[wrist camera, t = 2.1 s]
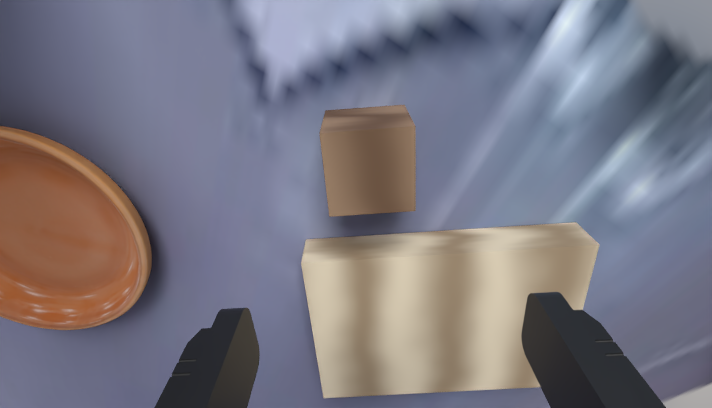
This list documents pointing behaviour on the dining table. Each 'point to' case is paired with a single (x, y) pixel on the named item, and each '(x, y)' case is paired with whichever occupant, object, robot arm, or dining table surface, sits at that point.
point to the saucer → (65, 237)
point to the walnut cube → (369, 160)
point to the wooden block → (436, 305)
